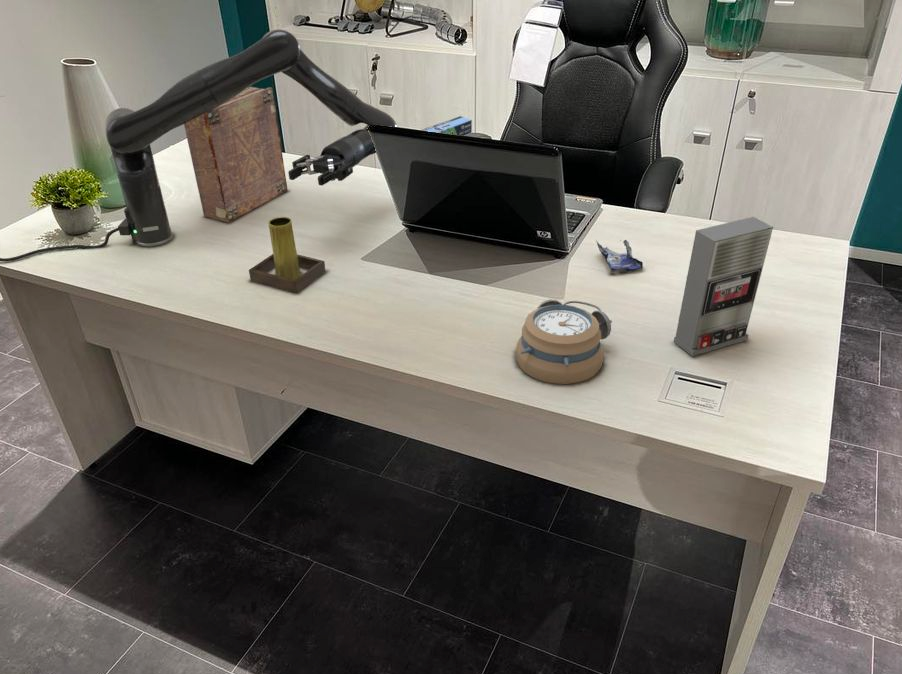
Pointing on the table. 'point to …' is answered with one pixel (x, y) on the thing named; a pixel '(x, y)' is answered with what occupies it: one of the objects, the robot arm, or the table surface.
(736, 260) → the cassette tape recorder
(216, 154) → the book
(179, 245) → the table surface
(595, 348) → the alarm clock
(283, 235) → the vase
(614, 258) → the snack package
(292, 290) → the open brown wooden box
